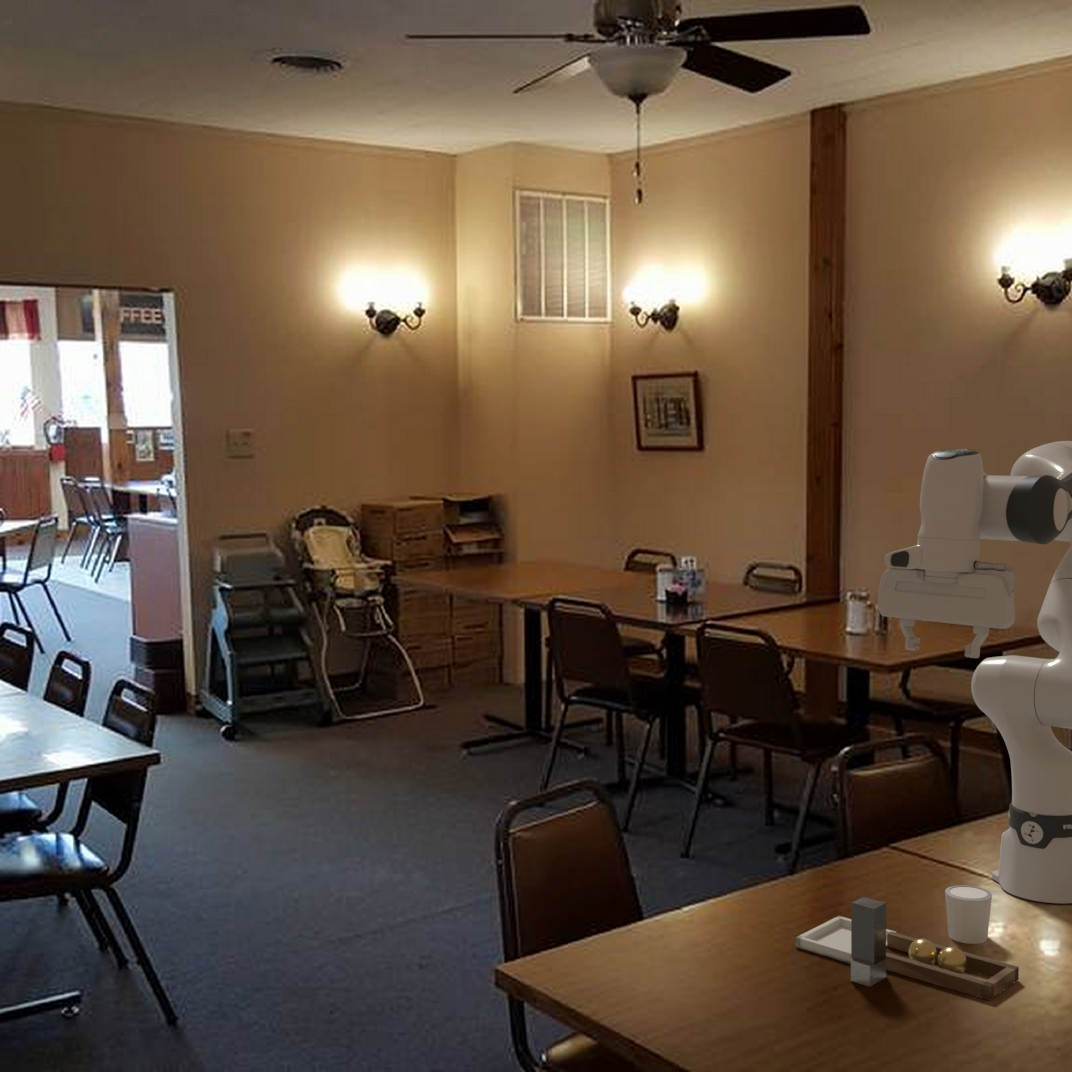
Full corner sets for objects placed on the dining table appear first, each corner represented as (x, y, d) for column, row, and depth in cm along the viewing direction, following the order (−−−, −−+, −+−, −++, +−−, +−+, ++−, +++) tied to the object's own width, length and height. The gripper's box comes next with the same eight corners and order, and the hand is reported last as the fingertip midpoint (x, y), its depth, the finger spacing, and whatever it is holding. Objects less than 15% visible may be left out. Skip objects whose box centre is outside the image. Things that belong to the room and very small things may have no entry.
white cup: (994, 946, 196) (995, 901, 195) (946, 944, 197) (947, 898, 196) (988, 930, 202) (989, 885, 202) (942, 927, 204) (942, 883, 203)
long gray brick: (865, 970, 188) (865, 895, 187) (888, 977, 185) (888, 901, 184) (848, 980, 184) (849, 904, 184) (871, 987, 182) (871, 910, 181)
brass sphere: (945, 967, 188) (945, 940, 188) (971, 974, 186) (972, 947, 185) (932, 975, 185) (932, 948, 185) (958, 983, 183) (958, 955, 182)
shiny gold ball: (916, 958, 191) (917, 932, 191) (942, 966, 189) (942, 939, 188) (903, 967, 189) (903, 940, 188) (928, 974, 186) (928, 947, 186)
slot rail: (891, 944, 197) (891, 931, 197) (1018, 980, 183) (1018, 966, 183) (860, 961, 191) (860, 948, 191) (989, 1000, 177) (989, 986, 177)
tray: (838, 925, 205) (838, 915, 205) (896, 941, 198) (896, 931, 198) (795, 946, 197) (795, 937, 197) (854, 964, 190) (854, 954, 190)
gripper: (1026, 564, 186) (1019, 661, 186) (896, 555, 201) (890, 645, 201) (1006, 563, 182) (999, 663, 182) (875, 554, 196) (869, 646, 196)
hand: (941, 653), depth 192 cm, fingers open, 8 cm apart
